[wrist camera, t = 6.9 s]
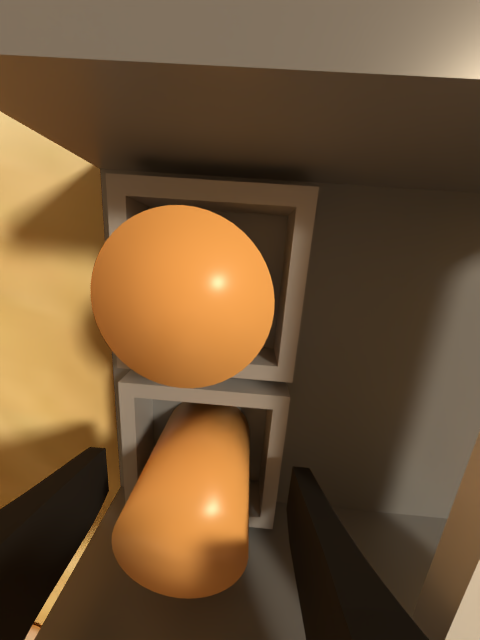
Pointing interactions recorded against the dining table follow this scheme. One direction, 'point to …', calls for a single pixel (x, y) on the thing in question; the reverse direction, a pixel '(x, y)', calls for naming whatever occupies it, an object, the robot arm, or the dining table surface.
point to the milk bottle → (32, 632)
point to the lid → (455, 567)
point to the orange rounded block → (190, 506)
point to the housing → (274, 266)
